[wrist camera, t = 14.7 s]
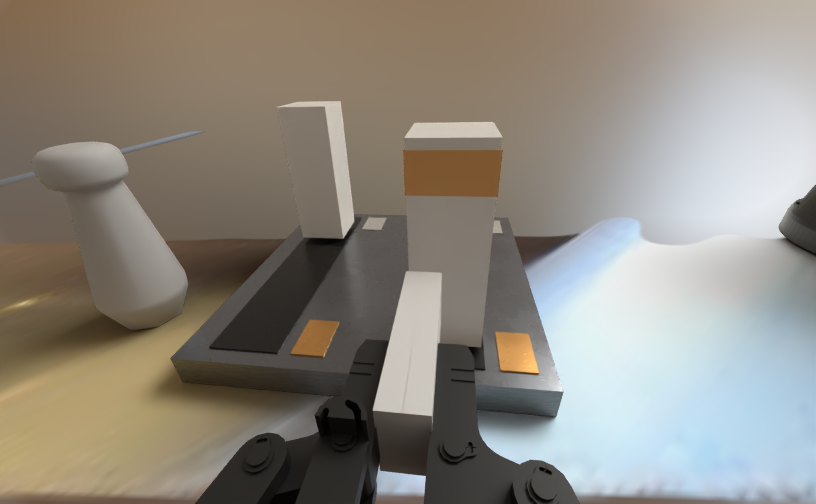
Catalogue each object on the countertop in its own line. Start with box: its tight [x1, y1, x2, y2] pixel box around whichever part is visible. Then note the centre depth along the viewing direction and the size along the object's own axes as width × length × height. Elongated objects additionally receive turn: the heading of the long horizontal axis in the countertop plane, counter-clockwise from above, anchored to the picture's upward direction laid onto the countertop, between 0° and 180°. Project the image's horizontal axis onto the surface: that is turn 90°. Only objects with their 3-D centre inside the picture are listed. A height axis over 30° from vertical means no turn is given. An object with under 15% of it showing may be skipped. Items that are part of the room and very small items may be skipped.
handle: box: [403, 122, 503, 347], centre depth 18 cm, size 4×4×12 cm
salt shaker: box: [31, 142, 188, 330], centre depth 24 cm, size 6×6×13 cm
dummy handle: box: [277, 101, 354, 239], centre depth 31 cm, size 4×4×12 cm
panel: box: [170, 214, 563, 417], centre depth 28 cm, size 22×22×2 cm
